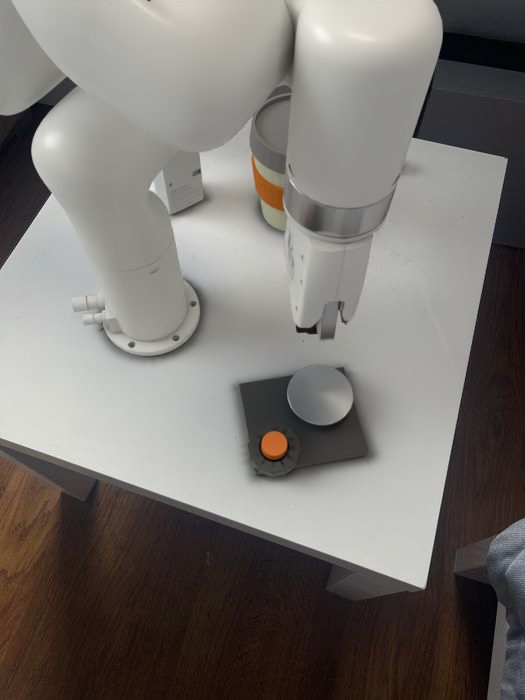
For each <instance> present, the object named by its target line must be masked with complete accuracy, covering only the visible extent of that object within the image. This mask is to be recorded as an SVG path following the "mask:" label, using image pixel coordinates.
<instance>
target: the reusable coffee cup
mask: <svg viewBox="0 0 525 700" xmlns="http://www.w3.org/2000/svg"><path fill="white" fill-rule="evenodd" d="M290 101H291V92H287V93H281V94H278V95H275V96H272V97H270V98H269V99H268V98H267V99H266V100H265V102H264V103H263V104H262V105H261V107H260V108H259V109H258V110H257V111H256V113H255V114H254V115H253V116H252V117H251V122H250V123H251V124H250V130H249V131H250V132H249V148H250V151H251V153H252V154H251V169H252V174H253V179H254V180H253V181H254V187H255V190H256V193H257V194H258V196H259V200H260V206H261V213H262V216H263V218H264V219H265V222H267V223H268V224H269V226H271V227H273V228H275V229H276V230H279V231H281V232H285V229H286V222H287V215H286V213H285V210H284V206H283V193H284V181H285V168H286V156H287V142H288V129H289V114H290Z"/></svg>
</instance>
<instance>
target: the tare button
mask: <svg viewBox="0 0 525 700" xmlns="http://www.w3.org/2000/svg"><path fill="white" fill-rule="evenodd" d="M261 449H262V452H263V454H264V456H265V457H267V458H268V459H271V460H278V459H280V458H282V457H283V456H284V455H285V453H286V450H287V439H286V437H285V436H284V435H283V434H282V433H280V432H277V431H272V432H269V433H267V434H266V435H265V436H264V437H263V439H262V446H261Z"/></svg>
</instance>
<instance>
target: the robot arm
mask: <svg viewBox="0 0 525 700" xmlns="http://www.w3.org/2000/svg"><path fill="white" fill-rule="evenodd" d="M443 29H444V28H443V19H442V16H441V14H440V11H439V7H438V6H437V4H436V3H435V1H434V0H150V1H148V0H0V116H13V115H17V114H19V113H21V112H24V111H26V110H28V109H29V108H30V107H31V106H33V105H34V104H36V103H37V102H38V101H41V100H42V99H43V98H44V97H45V96H46V95H47V94H48V93H50V92H51V91H52V90H54V89H55V88H56V87H57V86H58V85H59V84H61V82H62V81H64V80H65V79H66V78H68V79H69V80H71V81H72V82H73V83H74V84H75V85H77V86H75V87H74V88H73V89H72V90H70V91H69V92H68V93H67V94H66V95H65V96H64V97H63V98H62V99H60V100H59V101H58V103H56V104H55V105H54V106H53V108H51V109H50V110H49V112H48V113H47V114H46V115H45V116H44V118H43V119H42V121H40V124H39V125H38V127H37V129H36V131H35V133H34V134H33V135H34V136H33V138H32V141H31V151H30V152H31V157H32V158H31V159H32V163H33V165H34V168H35V169H36V172H37V173H38V176H39V177H40V179H41V180H42V182H43V184H44V185H45V186H46V188H47V189H48V190H49V191H50V193H51V194H52V195H53V197H54V199H56V201H57V202H58V204H59V205H60V206H61V208H62V210H63V211H64V212H65V214H66V217H68V219H69V221H70V223H71V225H72V227H73V228H74V230H75V233H76V235H77V237H78V239H79V241H80V244H81V246H82V248H83V251H84V252H85V255H86V257H87V259H88V262H89V264H90V266H91V269H92V271H93V273H94V276H95V278H96V281H97V284H98V285H99V288H100V290H101V291H97V292H96V294H94V295H93V294H91V295H80V296H72V297H71V304H72V309H73V311H74V313H81V312H88V311H90V310H98V309H99V310H100V312H97V313H93V312H92V313H86V314H82V322H83V325H84V326H91V325H93V326H94V325H97V324H101V323H102V327H103V329H104V332H105V334H106V335H107V337H108V338H109V340H110V341H111V342H112V343H113V344H114V345H115V346H116V347H117V348H119V349H121V350H122V351H123V352H126V353H128V354H129V353H130V354H131V355H135V356H141V357H153V356H160V355H163V354H167V353H170V352H172V351H174V350H175V349H178V348H179V347H181V346H182V345H183V344H184V343H186V342H187V341H188V340H189V339H190V338H191V337H192V336H193V334H194V332H195V331H196V329H197V327H198V325H199V322H200V318H201V316H200V315H201V307H200V301H199V297H198V294H197V293H196V291H195V289H194V287H192V285H191V284H189V282H188V281H186V280H185V279H184V278H183V274H182V269H181V265H180V260H179V254H178V247H177V244H176V238H175V233H174V229H173V224H172V220H171V214H169V212H168V209H167V207H166V205H165V204H164V202H163V201H162V200H161V198H160V197H158V196H157V195H156V192H153V190H150V188H151V186H152V184H153V183H154V181H153V180H154V179H155V178H156V176H157V175H158V174H159V173H160V172H161V170H162V169H163V168H164V167H165V166H166V165H167V163H168V162H169V160H170V159H171V158H172V157H173V156H174V155H175V154H176V153H177V152H178V150H182V151H186V152H199V153H205V152H210V151H212V150H213V151H214V150H215V149H218V148H220V147H222V146H224V145H225V144H227V143H228V142H230V141H231V140H232V139H233V138H234V137H236V135H238V133H239V132H240V131H241V130H242V129H243V128H244V127H245V126H246V124H248V122H249V121H250V120H251V119H252V118H253V115H254V114H255V113H256V111H257V110H258V109H259V108H260V107H261V105H262V104H263V103H264V102H265V101H266V100H268V98H269V97H270V96H271V94H272V93H274V91H275V90H276V88H279V87H283V86H287V87H289V89H290V93H291V101H290V114H289V129H288V142H287V156H286V168H285V181H284V193H283V206H284V210H285V213H286V215H287V222H286V229H285V231H284V238H283V251H284V262H285V270H286V278H287V286H288V294H289V301H290V308H291V315H292V319H293V322H294V324H295V331H296V333H297V334H307V335H317V337H318V341H319V342H322V341H323V342H325V341H334V340H335V337H336V336H335V335H336V329H337V322H338V316H339V313H340V320H341V323H342V324H344V325H345V326H347V325H348V324H350V322H351V321H353V318H354V316H355V314H356V311H357V309H358V306H359V303H360V300H361V296H362V292H363V288H364V284H365V280H366V275H367V271H368V266H369V260H370V257H371V256H370V255H371V248H372V243H373V237H374V234H375V233H376V232H378V230H379V229H380V228H381V227H382V226H383V225H384V223H385V221H386V220H387V217H388V214H389V211H390V207H391V205H392V202H393V199H394V195H395V192H396V189H397V186H398V183H399V180H400V177H401V174H402V170H403V168H404V165H405V162H406V158H407V155H408V152H409V149H410V145H411V142H412V139H413V136H414V133H415V130H416V127H417V124H418V120H419V118H420V115H421V111H422V109H423V106H424V102H425V100H426V96H427V94H428V90H429V88H430V84H431V81H432V78H433V74H434V72H435V70H436V65H437V63H438V59H439V57H440V51H441V48H442V44H443V36H444V35H443V34H444V31H443Z"/></svg>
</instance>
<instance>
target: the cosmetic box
mask: <svg viewBox="0 0 525 700" xmlns="http://www.w3.org/2000/svg"><path fill="white" fill-rule="evenodd" d="M153 186H154V190H155V194H156V195H157V196H158V197H160V198H161V200H162V201H163V202H164V204H165V205H166V207H167V209H168V212H169V215H174V214H176V213H178V212H181V211H183V210H185V209H188V208H189V207H192V206H193V205H196V204H198V203H200V202H201V201H203V200H204V199H205V195H204V184H203V174H202V165H201V156H200V152H186V151H182V150H178V152H177V153H176V154H175V155H174V156H173V157H172V158H171V159H170V160H169V162H168V163H167V165H166V166H165V167H164V168H163V169H162V170H161V172H160V173H159V174H158V175H157V176H156V178H155V179H154V180H153Z"/></svg>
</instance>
